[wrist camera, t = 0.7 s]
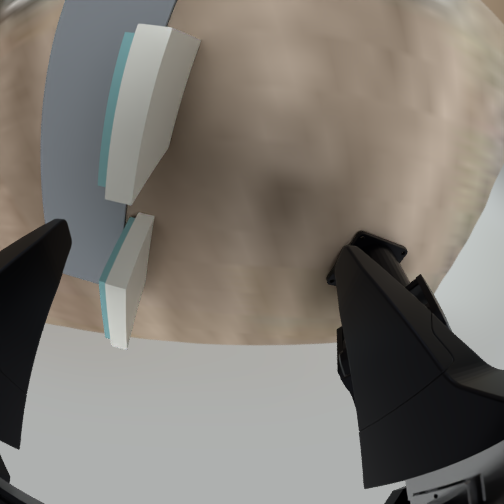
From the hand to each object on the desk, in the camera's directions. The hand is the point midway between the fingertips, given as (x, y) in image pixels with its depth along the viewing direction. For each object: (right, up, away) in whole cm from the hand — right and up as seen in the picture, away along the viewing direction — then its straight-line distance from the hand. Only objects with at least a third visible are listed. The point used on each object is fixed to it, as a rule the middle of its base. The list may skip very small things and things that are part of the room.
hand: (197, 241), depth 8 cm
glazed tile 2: (-9, 0, +15) cm, 18 cm away
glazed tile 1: (-4, +10, +7) cm, 13 cm away
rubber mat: (-11, +7, +10) cm, 16 cm away
